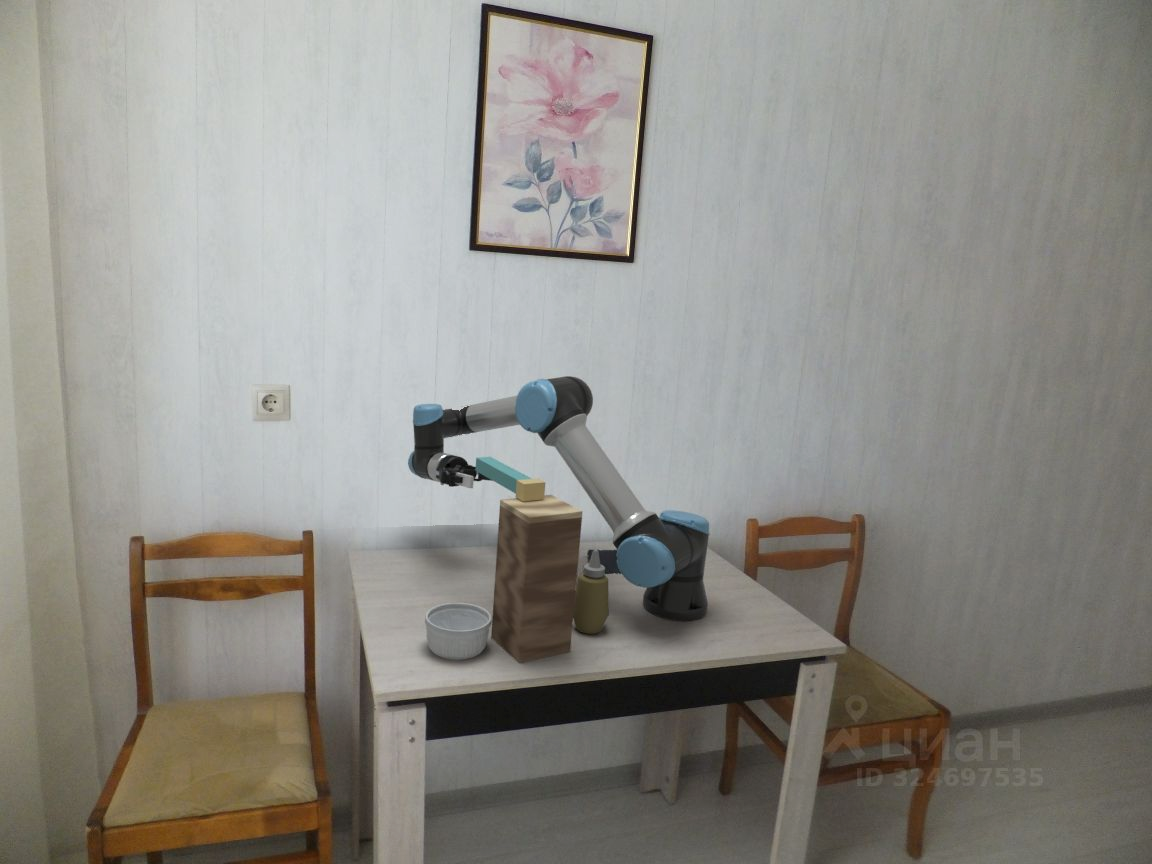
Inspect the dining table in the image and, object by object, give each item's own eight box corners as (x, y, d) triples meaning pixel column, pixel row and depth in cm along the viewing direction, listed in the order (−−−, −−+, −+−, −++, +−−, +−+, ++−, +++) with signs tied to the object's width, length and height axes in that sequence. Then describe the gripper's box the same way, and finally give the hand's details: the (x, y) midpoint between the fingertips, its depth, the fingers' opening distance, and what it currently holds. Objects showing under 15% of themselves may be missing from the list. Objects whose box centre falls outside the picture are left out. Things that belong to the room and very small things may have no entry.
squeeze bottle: (570, 619, 187) (577, 542, 183) (607, 622, 187) (614, 546, 183) (569, 635, 179) (576, 555, 175) (607, 638, 179) (614, 559, 175)
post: (491, 637, 175) (500, 499, 169) (540, 627, 181) (551, 494, 175) (519, 662, 165) (529, 517, 159) (570, 651, 172) (582, 511, 165)
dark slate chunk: (581, 555, 229) (583, 538, 228) (657, 554, 235) (659, 538, 234) (596, 576, 215) (597, 559, 214) (676, 575, 220) (678, 558, 219)
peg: (472, 472, 187) (473, 456, 186) (492, 470, 190) (493, 455, 189) (522, 501, 168) (524, 484, 167) (544, 499, 171) (545, 482, 170)
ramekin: (496, 660, 165) (498, 627, 164) (429, 666, 161) (431, 633, 160) (481, 631, 178) (483, 600, 176) (418, 635, 173) (420, 604, 172)
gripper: (489, 483, 219) (538, 496, 203) (403, 485, 203) (449, 499, 187) (491, 454, 218) (540, 465, 202) (405, 454, 202) (451, 466, 186)
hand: (496, 481), depth 194 cm, fingers open, 13 cm apart
